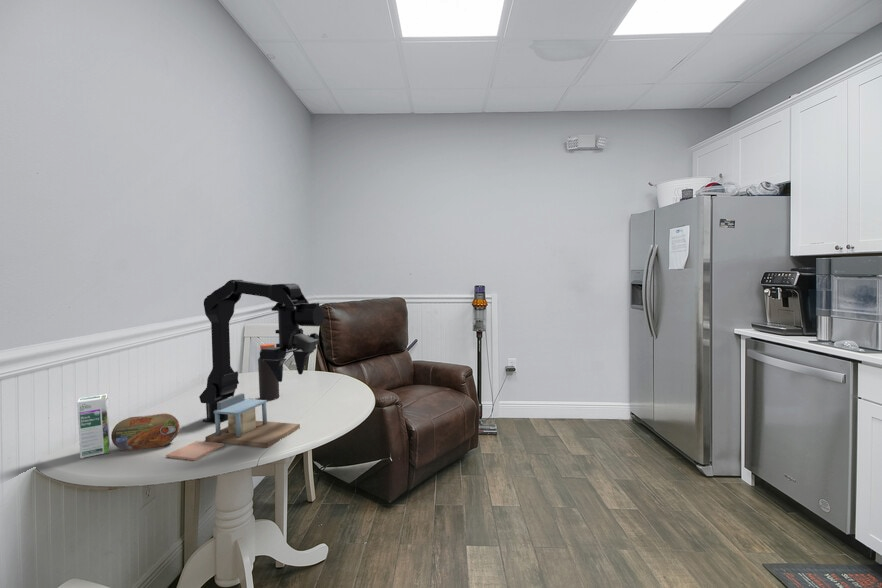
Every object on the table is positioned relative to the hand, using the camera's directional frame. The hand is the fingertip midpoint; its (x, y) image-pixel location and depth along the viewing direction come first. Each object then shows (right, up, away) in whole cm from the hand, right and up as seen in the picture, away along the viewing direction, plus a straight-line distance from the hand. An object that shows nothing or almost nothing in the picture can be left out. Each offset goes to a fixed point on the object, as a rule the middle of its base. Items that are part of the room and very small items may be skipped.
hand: (290, 377), depth 122 cm
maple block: (-12, -15, -5) cm, 20 cm away
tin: (-34, -16, -13) cm, 39 cm away
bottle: (-19, -14, +30) cm, 38 cm away
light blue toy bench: (-12, -14, -5) cm, 19 cm away
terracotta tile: (-18, -15, -17) cm, 29 cm away
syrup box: (-45, -16, -16) cm, 50 cm away
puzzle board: (-8, -15, -6) cm, 18 cm away
